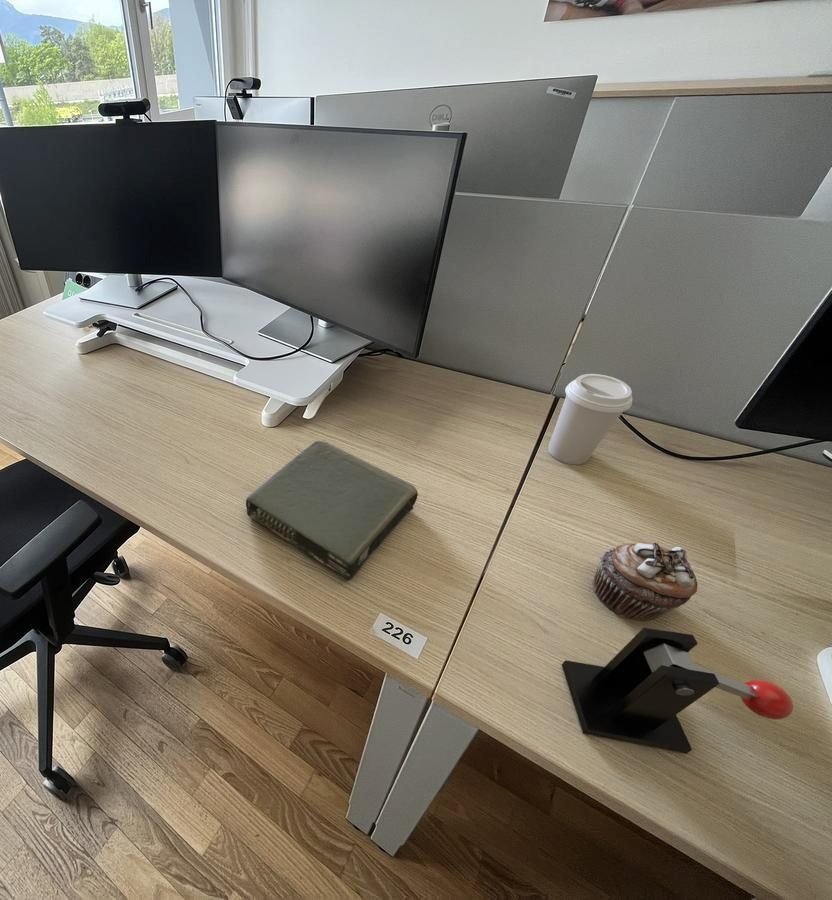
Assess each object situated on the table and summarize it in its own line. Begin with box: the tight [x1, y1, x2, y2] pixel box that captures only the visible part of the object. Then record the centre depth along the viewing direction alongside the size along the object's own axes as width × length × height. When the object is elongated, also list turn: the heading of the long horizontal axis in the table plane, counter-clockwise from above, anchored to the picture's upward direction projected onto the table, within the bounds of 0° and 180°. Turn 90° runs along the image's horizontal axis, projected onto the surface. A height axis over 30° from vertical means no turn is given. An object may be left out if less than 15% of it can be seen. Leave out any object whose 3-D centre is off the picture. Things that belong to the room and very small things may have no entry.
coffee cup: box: [547, 373, 633, 465], centre depth 83 cm, size 10×10×15 cm
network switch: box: [245, 440, 419, 581], centre depth 79 cm, size 23×24×5 cm
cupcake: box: [592, 542, 699, 622], centre depth 61 cm, size 10×10×10 cm
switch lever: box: [643, 643, 794, 720], centre depth 47 cm, size 14×4×4 cm, turn 78°
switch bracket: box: [561, 627, 720, 754], centre depth 50 cm, size 10×8×13 cm
